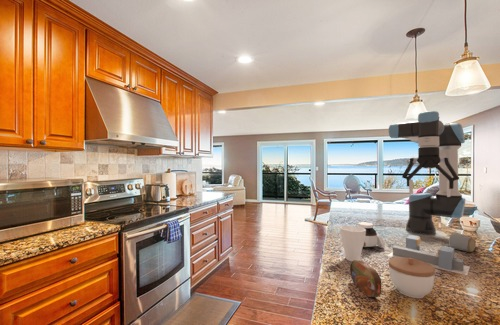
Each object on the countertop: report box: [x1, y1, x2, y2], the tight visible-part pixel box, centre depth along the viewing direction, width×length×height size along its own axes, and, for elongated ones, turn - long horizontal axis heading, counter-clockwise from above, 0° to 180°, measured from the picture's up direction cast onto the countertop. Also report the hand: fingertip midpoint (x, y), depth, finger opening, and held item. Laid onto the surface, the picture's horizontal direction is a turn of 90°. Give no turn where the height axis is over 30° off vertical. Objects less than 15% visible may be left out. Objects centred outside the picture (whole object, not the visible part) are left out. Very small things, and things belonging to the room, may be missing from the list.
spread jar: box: [357, 221, 386, 250], centre depth 123 cm, size 12×11×12 cm
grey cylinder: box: [448, 232, 476, 253], centre depth 119 cm, size 11×8×8 cm
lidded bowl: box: [388, 257, 436, 299], centre depth 80 cm, size 13×13×11 cm
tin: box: [349, 260, 383, 298], centre depth 81 cm, size 15×3×8 cm, turn 5°
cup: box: [339, 225, 366, 262], centre depth 107 cm, size 10×10×14 cm
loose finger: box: [405, 234, 421, 251], centre depth 116 cm, size 7×4×7 cm, turn 134°
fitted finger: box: [437, 245, 455, 272], centre depth 98 cm, size 7×4×7 cm, turn 134°
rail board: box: [386, 245, 471, 276], centre depth 104 cm, size 11×27×4 cm, turn 44°
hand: (429, 195), depth 108 cm, fingers open, 13 cm apart
